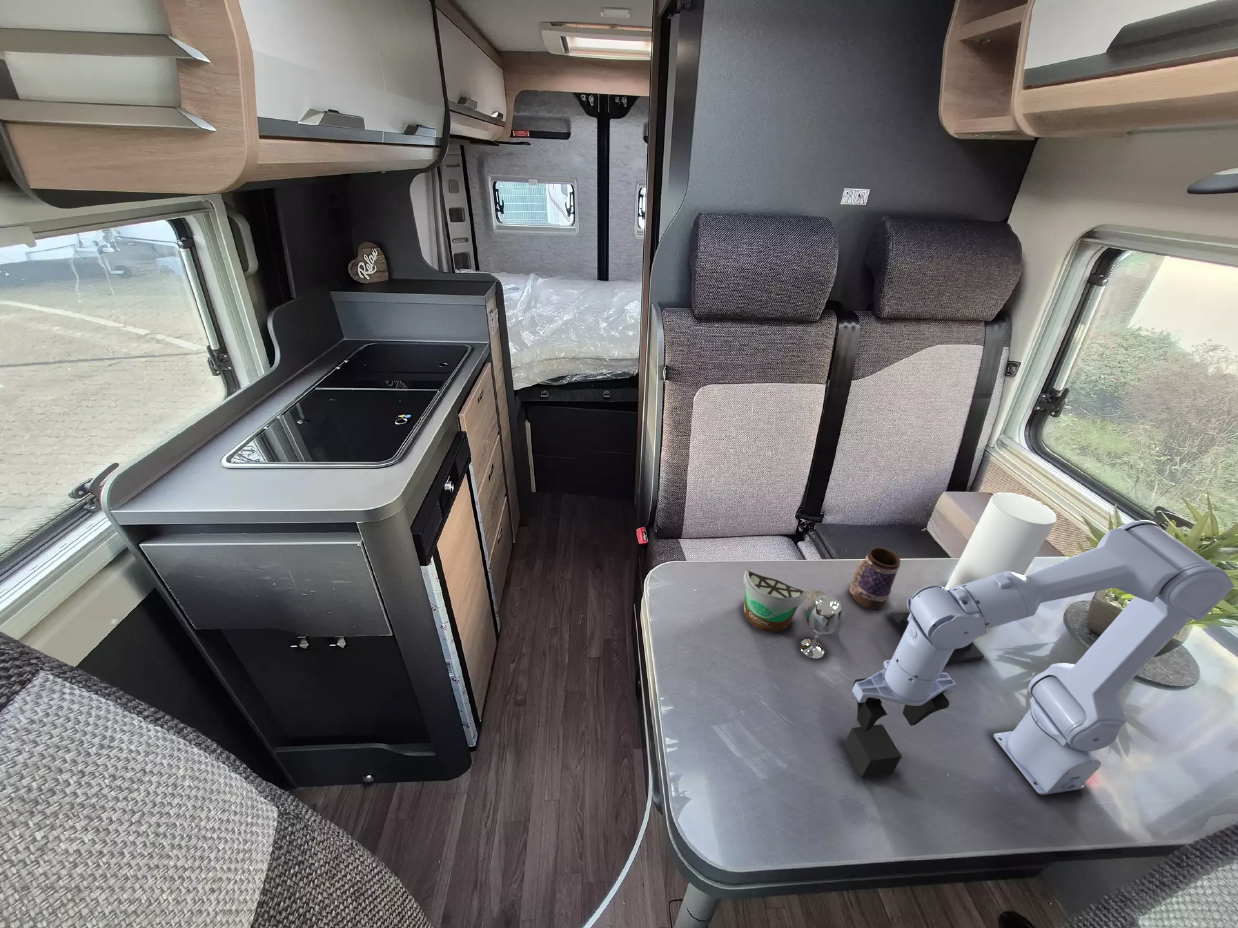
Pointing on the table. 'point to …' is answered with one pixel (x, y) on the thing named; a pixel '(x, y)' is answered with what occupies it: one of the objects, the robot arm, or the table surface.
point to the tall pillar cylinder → (1004, 538)
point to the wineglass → (821, 623)
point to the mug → (875, 578)
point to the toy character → (813, 595)
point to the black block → (872, 751)
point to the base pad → (958, 654)
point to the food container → (770, 602)
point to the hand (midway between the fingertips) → (885, 721)
